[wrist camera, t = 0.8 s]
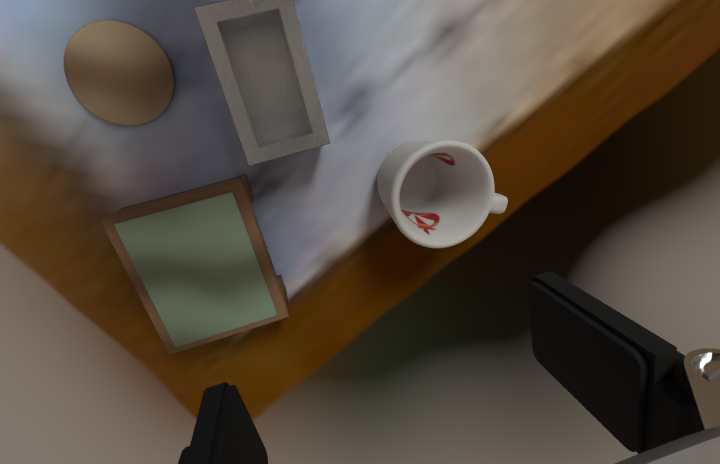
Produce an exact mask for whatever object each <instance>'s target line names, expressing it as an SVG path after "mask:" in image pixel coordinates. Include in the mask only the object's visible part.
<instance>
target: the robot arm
mask: <svg viewBox="0 0 720 464" xmlns="http://www.w3.org/2000/svg"><path fill="white" fill-rule="evenodd" d="M528 299H529V310H530V323H531V335H532V347H533V353H534V356H535V358H536V359H537V361H539V363H540V364H541V365H542V366H543V367H544V368H545V369H546V370H547V371H548V372H549V373H550V374H551V375H552V376H553V377H554V378H555V379H556V380H558V382H560V383H561V385H562V386H563V387H565V388H566V389H567V390H568V391H569V392H570V393H571V394H572V395H573V396H574V397H575V398H576V399H577V400H578V401H579V402H580V403H581V404H582V405H583V406H584V407H585V408H586V409H587V410H588V411H589V412H590V413H591V414H592V415H593V416H594V417H595V418H596V419H597V420H598V421H599V422H600V423H601V424H602V425H603V426H604V427H605V428H606V429H607V430H608V431H609V432H610V433H611V434H612V435H613V436H614V437H615V438H616V439H618V440H619V442H621V443H622V444H623V445H624V446H625V447H626V448H627V449H628V450H630V451H632V452H635V451H636V452H637V453H638V455H635V456H632V457H630V458H628V459H625V460H623V461H620V462H618V463H615V464H720V350H719V349H705V348H704V349H698V350H694V351H692V352H690V353H688V354H687V355H686V356H684V355H683V354H681V353H679V352H678V351H677V347H675V346H674V345H672V344H670V343H669V342H667V341H665V340H664V339H662V338H660V337H659V336H657V335H655V334H654V333H652V332H650V331H649V330H647V329H645V328H644V327H642V326H640V325H639V324H637V323H636V322H634V321H632V320H630V319H629V318H627V317H626V316H624V315H622V314H621V313H619V312H617V311H616V310H614V309H612V308H611V307H609V306H608V305H606V304H604V303H603V302H601V301H599V300H598V299H596V298H594V297H593V296H591V295H589V294H588V293H586V292H584V291H583V290H581V289H579V288H578V287H576V286H574V285H573V284H571V283H570V282H568V281H566V280H565V279H563V278H561V277H560V276H558V275H556V274H555V273H553V272H547V273H544V274H541V275H538V276H535V277H533V278H532V280H531V283H529V284H528ZM178 464H268V457H267V452H266V449H265V447H264V445H263V443H262V440H261V438H260V436H259V434H258V432H257V430H256V428H255V426H254V423H253V421H252V419H251V417H250V415H249V413H248V411H247V409H246V406H245V404H244V402H243V400H242V398H241V396H240V394H239V392H238V390H237V388H236V386H235V385H231V386H229V385H228V383H227V382H224V383H221V384H218V385H215V386H212V387H209V388H206V389H205V391H204V393H203V397H202V401H201V405H200V409H199V413H198V417H197V421H196V425H195V429H194V433H193V437H192V441H191V445H190V446H189V447H186V448H185V449H184V450H183V451H182V453H181V456H180V459H179V463H178Z"/></svg>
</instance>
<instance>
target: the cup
mask: <svg viewBox="0 0 720 464" xmlns="http://www.w3.org/2000/svg"><path fill="white" fill-rule="evenodd" d="M377 188H378V193H379V196H380V199H381V201H382V203H383V205H384V206H385V208H386V209H387V211H388V213H389V214H390V216H391V217H392V219H393V220H394V222H395V224H396V225H397V227H398V228H399V230H400V231H401V232H402V233H403V234H404V235H405V236H406V237H407V238H408V239H410V240H411V241H413V242H414V243H416V244H418V245H421V246H424V247H428V248H445V247H450V246H453V245H456V244H459V243H461V242H462V241H464V240H466V239H467V238H469V237H470V236H471V235H473V234H474V233H475V232H476V231H477V230H478V229H479V228H480V226H481V225H482V224H483V222H484V221H485V219H486V218H487V216H488V214H489V213H495V214H501V213H503V212H504V211H505V209H506V207H507V203H508V199H507V197H505V196H503V195H500V194H497V193H494V179H493V175H492V171H491V169H490V166H489V164H488V163H487V161H486V159H485V158H484V157H483V156H482V154H481V153H480V152H478V151H477V150H476V149H475V148H473V147H471V146H470V145H468V144H465V143H463V142H459V141H454V140H438V141H424V142H413V143H408V144H405V145H402V146H400V147H398V148H396V149H395V150H393V151H392V152H391V153H390V154H389V155H388V156H387V157H386V158H385V160H384V161H383V163H382V165H381V167H380V169H379V173H378V178H377Z"/></svg>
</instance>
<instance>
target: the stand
mask: <svg viewBox="0 0 720 464" xmlns="http://www.w3.org/2000/svg"><path fill="white" fill-rule="evenodd" d="M253 198H254V197H253V194H252V191H251V188H250V185H249V182H248V179H247V177H246V175H244V176H240V177H236V178H233V179H229V180H225V181H221V182H218V183H214V184H210V185H207V186H203V187H199V188H196V189H192V190H188V191H184V192H181V193H177V194H173V195H170V196H166V197H162V198H158V199H155V200H151V201H147V202H144V203H140V204H136V205H133V206H129V207H125V208H122V209H121V210H119V211H117V212H115V213H111V214H108V215H106V216H104V217H102V218H101V219H100V221H101V223H102V225H103V227H104V229H105V231H106V233H107V235H108V237H109V239H110V241H111V243H112V245H113V247H114V249H115V251H116V252H117V254H118V256H119V258H120V260H121V262H122V264H123V266H124V268H125V270H126V272H127V274H128V276H129V278H130V280H131V282H132V284H133V286H134V288H135V290H136V291H137V293H138V295H139V297H140V299H141V301H142V303H143V305H144V307H145V309H146V311H147V313H148V315H149V317H150V319H151V321H152V323H153V325H154V327H155V328H156V330H157V332H158V334H159V336H160V338H161V340H162V342H163V344H164V346H165V348H166V350H167V352H168V354H169V355H171V354H175V353H178V352H181V351H184V350H187V349H190V348H193V347H196V346H200V345H203V344H206V343H209V342H212V341H215V340H218V339H221V338H225V337H228V336H231V335H234V334H237V333H240V332H243V331H246V330H250V329H253V328H256V327H259V326H262V325H265V324H268V323H271V322H275V321H278V320H281V319H284V318H287V317H289V309H288V299H287V291H286V288H285V285H284V283H283V280H282V277H281V275H279V276H276V273H275V270H274V267H273V264H272V261H271V259H270V256H269V253H268V250H267V247H266V245H265V242H264V239H263V236H262V233H261V230H260V228H259V225H258V222H257V219H256V216H255V213H254V211H253V208H252V202H253Z"/></svg>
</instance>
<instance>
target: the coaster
mask: <svg viewBox="0 0 720 464" xmlns="http://www.w3.org/2000/svg"><path fill="white" fill-rule="evenodd" d="M64 70H65V75H66V79H67V82H68V84H69V86H70V88H71V90H72V92H73V94H74V95H75V96H76V98H77V99H78V100H79V101H80V103H81V104H82V105H83V106H84V107H85V108H87V109H88V110H89V111H90V112H92V113H93V114H94V115H96V116H98V117H99V118H101V119H103V120H106V121H108V122H111V123H114V124H119V125H140V124H144V123H148V122H150V121H152V120H154V119H156V118H157V117H159V116H160V115H161V114H162V113H163V112H164V111H165V110H166V109H167V107H168V106H169V104H170V102H171V100H172V97H173V93H174V85H175V83H174V74H173V69H172V66H171V63H170V61H169V59H168V57H167V55H166V54H165V52H164V51H163V49H162V48H161V47H160V45H159V44H158V43H157V42H156V41H155V40H154V39H153V38H152V37H150V36H149V35H148V34H146V33H145V32H143V31H142V30H140V29H138V28H136V27H135V26H132V25H130V24H127V23H124V22H120V21H114V20H102V21H96V22H93V23H90V24H87V25H85V26H84V27H82V28H81V29H79V30H78V31H77V32H76V33H75V34H74V35H73V36H72V38H71V39H70V41H69V43H68V45H67V47H66V50H65V55H64Z"/></svg>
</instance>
